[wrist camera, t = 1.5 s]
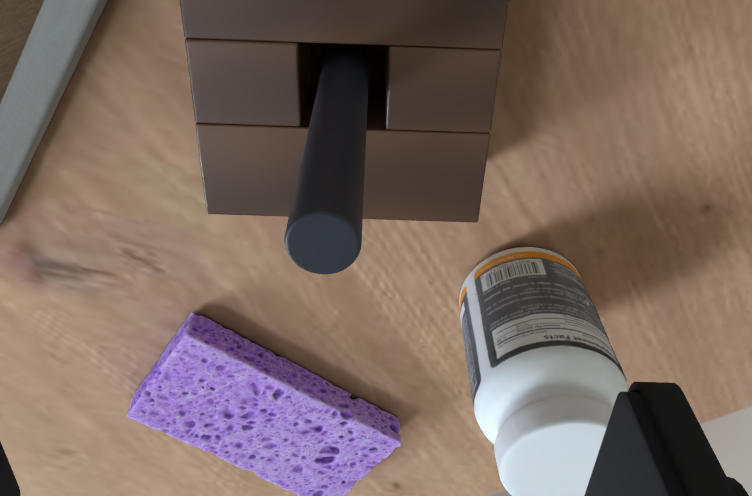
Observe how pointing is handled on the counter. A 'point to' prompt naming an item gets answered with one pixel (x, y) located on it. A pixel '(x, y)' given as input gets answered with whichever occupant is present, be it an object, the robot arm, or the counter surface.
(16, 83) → the grey-rimmed serving tray
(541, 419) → the pill bottle
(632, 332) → the counter surface
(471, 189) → the dock
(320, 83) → the peg
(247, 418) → the sponge
